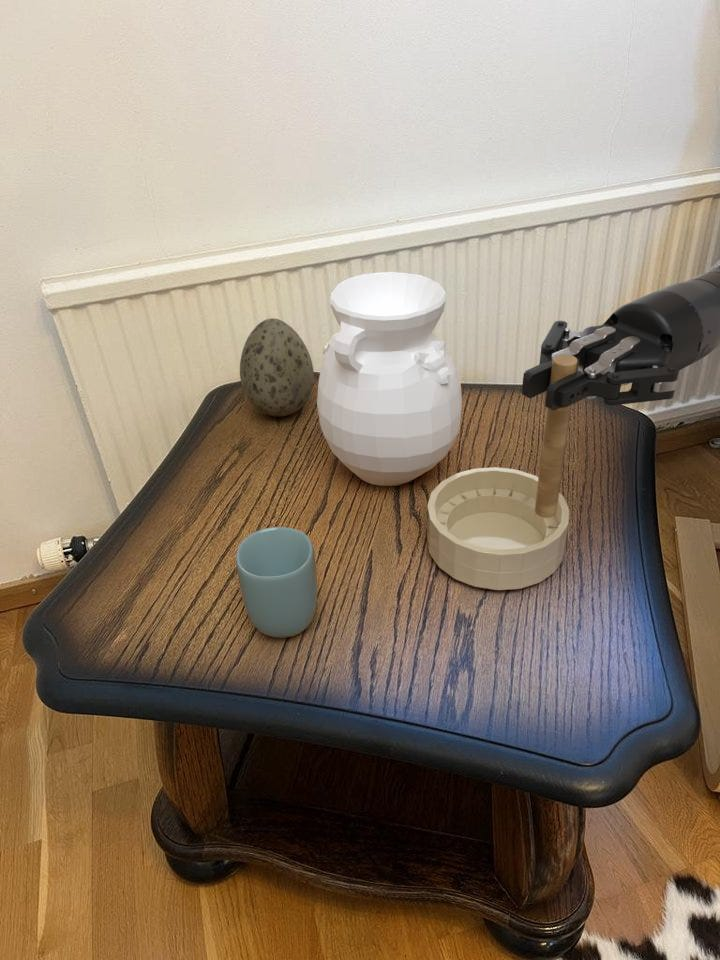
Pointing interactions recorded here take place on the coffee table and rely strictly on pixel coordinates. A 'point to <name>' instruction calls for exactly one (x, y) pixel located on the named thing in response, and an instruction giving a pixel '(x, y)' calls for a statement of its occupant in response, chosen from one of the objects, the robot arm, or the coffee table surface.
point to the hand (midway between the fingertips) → (538, 392)
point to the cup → (278, 580)
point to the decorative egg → (276, 369)
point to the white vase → (388, 379)
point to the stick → (554, 443)
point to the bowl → (494, 529)
